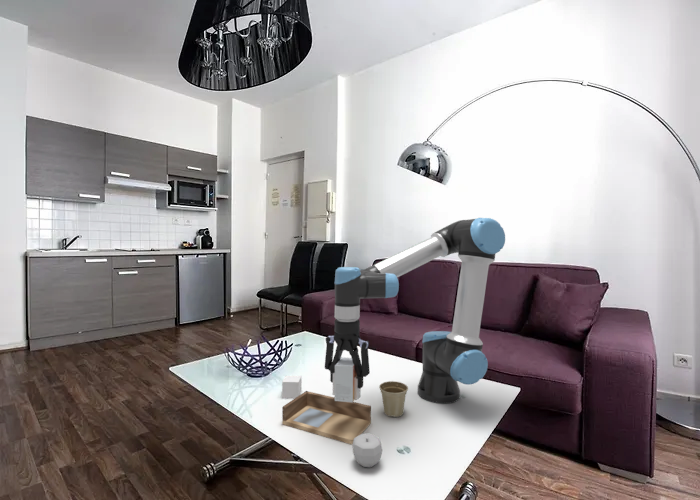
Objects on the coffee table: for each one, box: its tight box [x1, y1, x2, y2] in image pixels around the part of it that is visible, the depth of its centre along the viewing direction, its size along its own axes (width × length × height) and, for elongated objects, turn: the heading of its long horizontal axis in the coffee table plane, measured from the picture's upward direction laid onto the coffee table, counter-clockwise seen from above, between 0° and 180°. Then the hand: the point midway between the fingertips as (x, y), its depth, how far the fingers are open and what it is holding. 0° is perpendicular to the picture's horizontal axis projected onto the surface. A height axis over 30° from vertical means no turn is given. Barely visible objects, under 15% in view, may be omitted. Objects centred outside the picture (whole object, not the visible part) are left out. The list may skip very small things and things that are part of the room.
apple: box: [352, 433, 383, 468], centre depth 88 cm, size 8×8×7 cm
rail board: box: [281, 390, 372, 445], centre depth 107 cm, size 24×13×5 cm, turn 63°
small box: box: [334, 356, 357, 402], centre depth 104 cm, size 8×6×10 cm
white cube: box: [281, 375, 302, 399], centre depth 128 cm, size 6×6×6 cm
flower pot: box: [378, 380, 409, 418], centre depth 114 cm, size 9×9×9 cm
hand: (346, 395), depth 104 cm, fingers closed on small box, 7 cm apart
